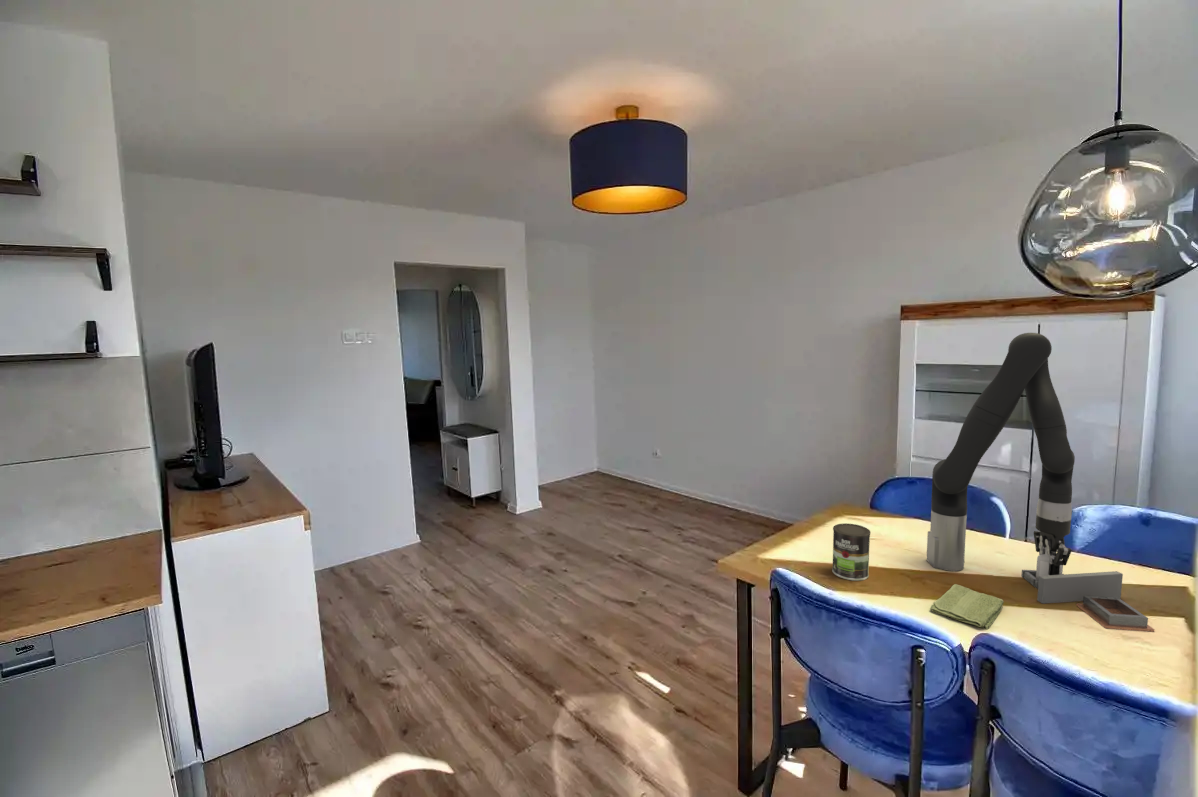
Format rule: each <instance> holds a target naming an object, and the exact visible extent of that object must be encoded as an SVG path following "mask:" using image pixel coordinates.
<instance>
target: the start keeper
mask: <svg viewBox="0 0 1198 797" xmlns="http://www.w3.org/2000/svg"><path fill="white" fill-rule="evenodd" d="M1062 575H1064V573H1062ZM1021 577H1022V578H1023V579H1024V580H1025V581H1027V582H1028V583H1029V584H1030V585H1032V586H1033V587H1034V588H1035V589H1036V590H1038V584H1039V580H1038V579H1037V578H1036V569H1033V570H1032V569H1021Z"/></svg>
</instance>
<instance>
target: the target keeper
mask: <svg viewBox="0 0 1198 797" xmlns="http://www.w3.org/2000/svg"><path fill="white" fill-rule="evenodd" d="M1076 607H1078V608H1079V609H1080V610H1081V611H1083V612H1084V613H1085V614H1087V615H1088V617H1091V618H1092V620H1094V621H1095V622H1097V623H1098V624H1099V625H1100V626H1102V627H1103V628H1104V629H1113V630H1124V631H1136V632H1137V631H1139V632H1155V628H1153V627H1152V626H1150V625H1149V618H1148V617H1147V616H1146V615H1144V614H1143V613H1141V611H1138V609H1135V608H1134V607H1132V605H1130V604H1129V603H1127V602H1125V601H1124V600H1122V599H1121V598H1111V597H1095V596H1084V598H1083V601H1082V603H1080V602H1079V603H1076Z"/></svg>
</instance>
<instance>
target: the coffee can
mask: <svg viewBox="0 0 1198 797" xmlns="http://www.w3.org/2000/svg"><path fill="white" fill-rule="evenodd" d="M832 530H833V539H832V541H833V543H832V569H831V571H832V573H833V574H834V575H835V576H836V577H838V578H841V579H843V580H848V581H853V582H854V581H855V582H856V581H857V582H861V581H865V580H867V579H869V571H870V570H869V569H870V568H869V566H870V543H871V542H870V541H871V540H870V539H871V530H870V529H869V528H867V527H865V526H863V525H859V524H857V523H856V524H855V523H854V524H853V523H838V524H835V525H834V526H833V527H832Z"/></svg>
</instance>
